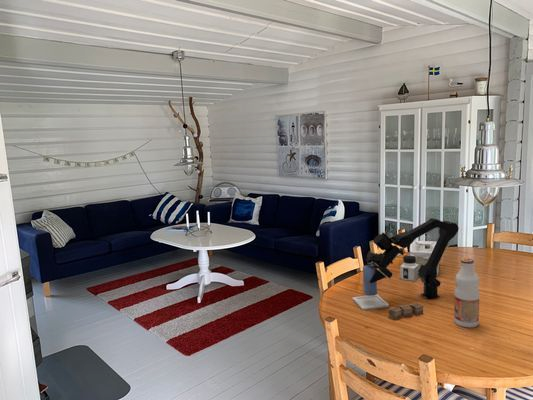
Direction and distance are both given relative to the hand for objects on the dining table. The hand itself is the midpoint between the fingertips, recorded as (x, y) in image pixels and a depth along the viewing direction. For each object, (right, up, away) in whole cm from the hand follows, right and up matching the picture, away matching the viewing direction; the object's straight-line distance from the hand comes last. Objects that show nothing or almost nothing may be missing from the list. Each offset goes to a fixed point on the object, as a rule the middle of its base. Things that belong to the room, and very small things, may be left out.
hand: (367, 280), depth 196 cm
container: (+32, -5, +33) cm, 46 cm away
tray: (+2, -12, +2) cm, 12 cm away
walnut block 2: (+14, -13, -13) cm, 23 cm away
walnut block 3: (+20, -13, -12) cm, 26 cm away
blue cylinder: (+2, -6, +1) cm, 7 cm away
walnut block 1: (+9, -14, -15) cm, 22 cm away
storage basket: (+45, -3, +45) cm, 64 cm away
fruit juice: (+36, -14, -24) cm, 45 cm away
